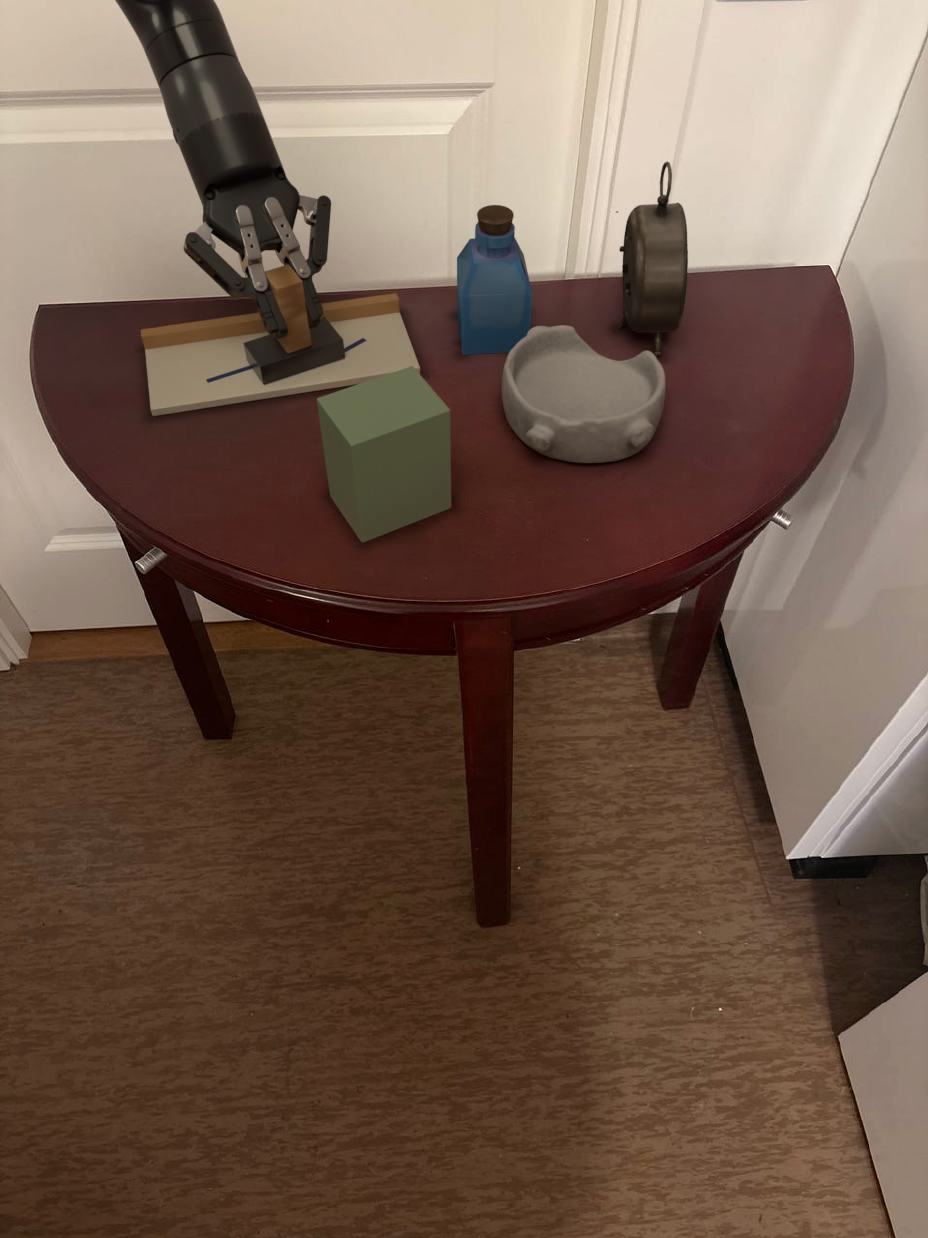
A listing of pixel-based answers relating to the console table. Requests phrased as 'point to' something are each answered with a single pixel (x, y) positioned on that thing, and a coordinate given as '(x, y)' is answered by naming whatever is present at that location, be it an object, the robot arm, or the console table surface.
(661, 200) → the alarm clock
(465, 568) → the console table surface
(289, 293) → the eraser
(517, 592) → the console table surface
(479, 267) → the perfume bottle
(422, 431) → the block
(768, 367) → the console table surface
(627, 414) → the dish
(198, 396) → the board
